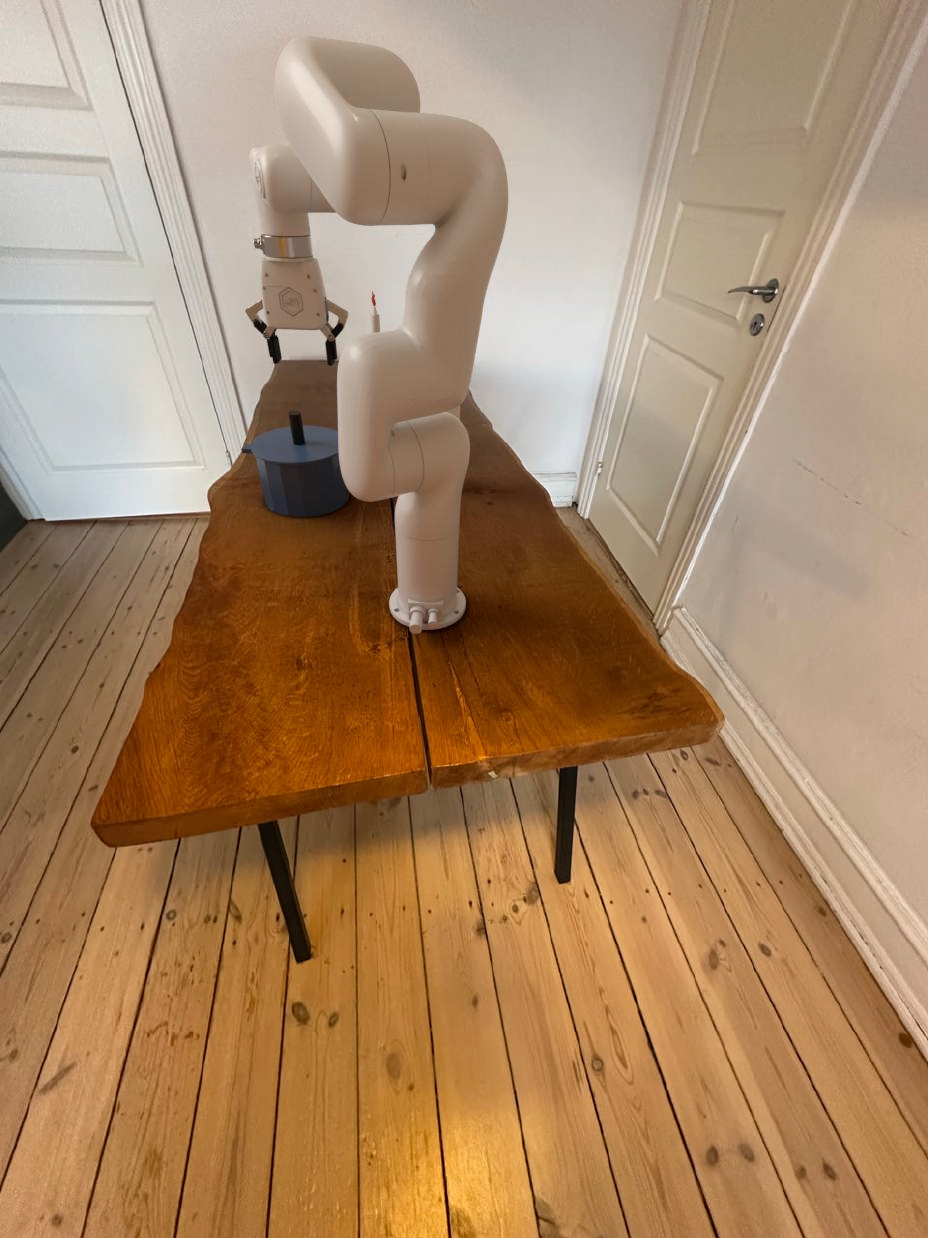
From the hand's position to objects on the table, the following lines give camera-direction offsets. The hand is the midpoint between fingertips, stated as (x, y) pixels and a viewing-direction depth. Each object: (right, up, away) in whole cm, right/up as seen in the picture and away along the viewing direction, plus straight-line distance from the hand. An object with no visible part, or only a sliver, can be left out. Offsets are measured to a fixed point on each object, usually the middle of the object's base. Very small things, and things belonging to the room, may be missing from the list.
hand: (304, 362), depth 98 cm
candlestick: (+8, -4, +40) cm, 41 cm away
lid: (-5, -11, +12) cm, 17 cm away
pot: (-5, -20, +19) cm, 28 cm away
